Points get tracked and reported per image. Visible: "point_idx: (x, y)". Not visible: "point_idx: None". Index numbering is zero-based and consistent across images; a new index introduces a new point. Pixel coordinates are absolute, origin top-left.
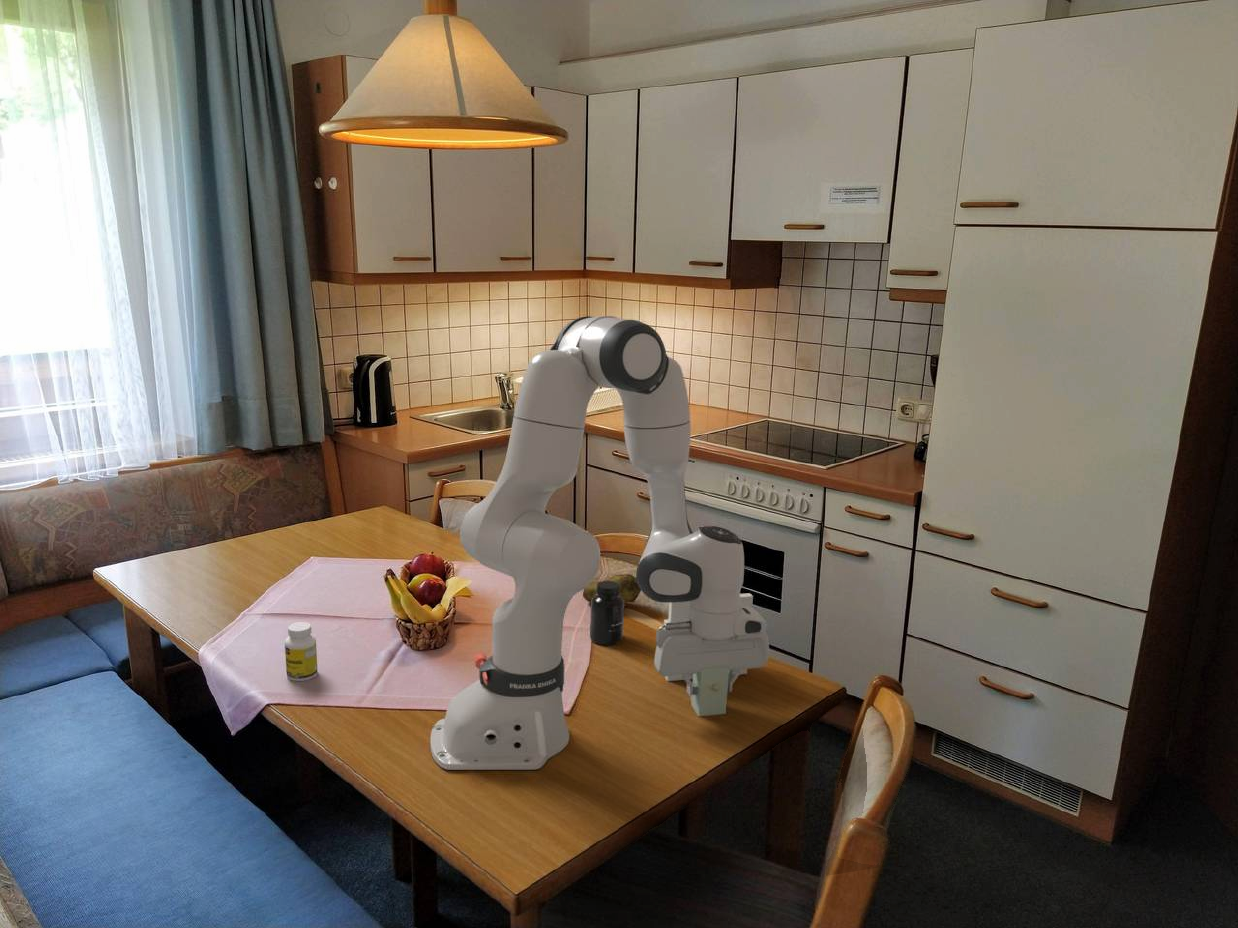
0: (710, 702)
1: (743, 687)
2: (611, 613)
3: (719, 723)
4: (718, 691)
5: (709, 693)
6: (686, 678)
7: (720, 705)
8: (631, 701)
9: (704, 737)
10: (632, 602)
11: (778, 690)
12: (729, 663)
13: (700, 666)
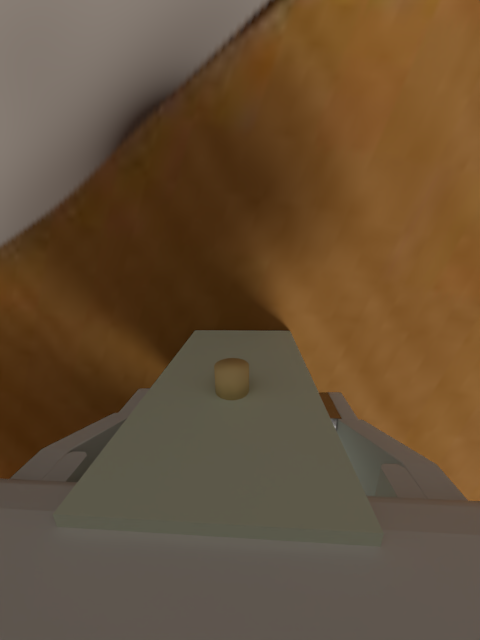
0: (250, 349)
1: None
2: None
3: (235, 275)
4: (210, 371)
5: (258, 370)
6: (430, 469)
7: (209, 342)
8: (460, 449)
9: (327, 188)
10: None
11: (5, 417)
12: (16, 568)
13: (412, 589)
